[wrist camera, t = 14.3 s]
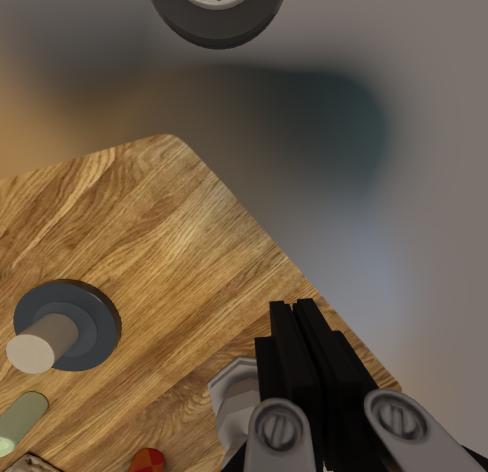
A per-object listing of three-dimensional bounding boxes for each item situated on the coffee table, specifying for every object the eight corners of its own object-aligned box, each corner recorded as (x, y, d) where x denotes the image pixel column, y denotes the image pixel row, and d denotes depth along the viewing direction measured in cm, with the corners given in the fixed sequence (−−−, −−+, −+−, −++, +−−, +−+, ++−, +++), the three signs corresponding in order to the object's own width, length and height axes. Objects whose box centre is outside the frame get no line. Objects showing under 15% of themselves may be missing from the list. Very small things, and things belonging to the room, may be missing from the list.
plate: (7, 285, 37) (-3, 289, 36) (108, 273, 37) (102, 278, 36) (40, 369, 41) (31, 377, 40) (131, 358, 41) (126, 366, 39)
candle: (52, 398, 43) (9, 449, 35) (42, 417, 44) (-2, 471, 36) (25, 387, 42) (-25, 436, 34) (16, 406, 43) (-35, 458, 35)
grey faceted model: (193, 393, 43) (169, 508, 28) (254, 341, 41) (263, 436, 26) (267, 451, 47) (280, 579, 32) (327, 406, 44) (372, 522, 29)
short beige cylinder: (31, 315, 37) (-1, 337, 32) (72, 310, 37) (46, 332, 32) (44, 350, 38) (15, 376, 33) (83, 346, 38) (60, 371, 33)
